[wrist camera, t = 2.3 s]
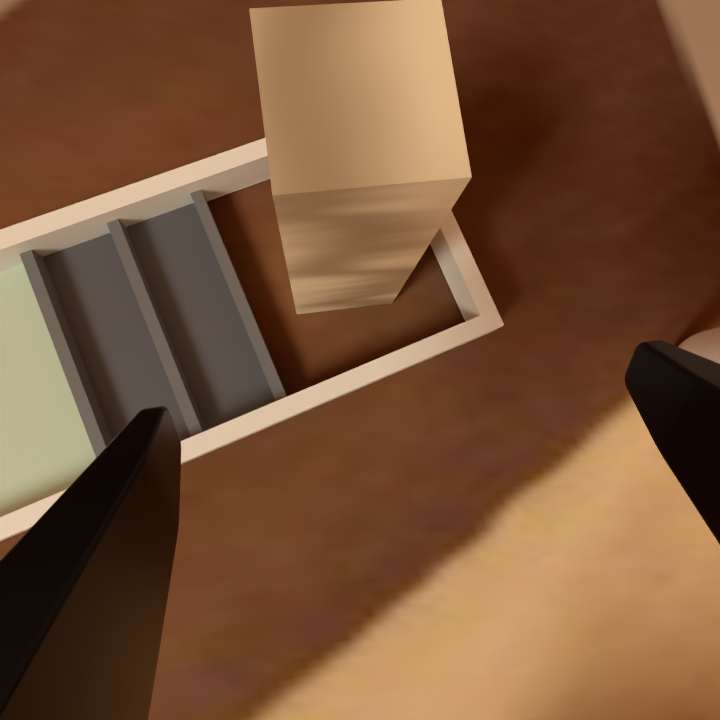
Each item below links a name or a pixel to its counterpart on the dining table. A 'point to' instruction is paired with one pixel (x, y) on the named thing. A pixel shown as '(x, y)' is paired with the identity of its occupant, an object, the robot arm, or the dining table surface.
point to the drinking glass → (704, 344)
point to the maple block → (358, 143)
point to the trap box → (156, 330)
